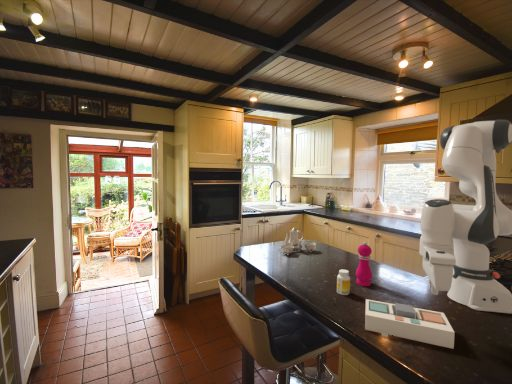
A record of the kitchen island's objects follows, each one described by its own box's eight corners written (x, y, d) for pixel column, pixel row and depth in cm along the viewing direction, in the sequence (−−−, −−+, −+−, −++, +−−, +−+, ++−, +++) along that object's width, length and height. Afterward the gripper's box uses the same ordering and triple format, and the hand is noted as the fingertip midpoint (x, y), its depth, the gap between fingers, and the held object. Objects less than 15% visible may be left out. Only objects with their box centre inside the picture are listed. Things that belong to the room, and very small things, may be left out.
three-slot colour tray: (442, 327, 88) (443, 312, 87) (453, 348, 77) (454, 331, 76) (365, 312, 97) (365, 298, 97) (365, 329, 86) (365, 314, 86)
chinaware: (285, 260, 161) (288, 234, 159) (271, 250, 176) (273, 227, 173) (319, 254, 175) (322, 230, 173) (303, 245, 190) (305, 223, 187)
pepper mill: (373, 287, 119) (375, 244, 118) (356, 286, 120) (358, 243, 119) (369, 281, 126) (371, 240, 125) (354, 279, 127) (355, 239, 126)
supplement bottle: (334, 292, 113) (335, 270, 113) (340, 288, 117) (340, 267, 117) (346, 296, 110) (347, 274, 109) (351, 292, 114) (352, 270, 113)
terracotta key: (440, 323, 86) (440, 315, 86) (444, 332, 81) (444, 323, 81) (421, 320, 88) (421, 311, 88) (424, 328, 83) (425, 319, 83)
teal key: (385, 313, 92) (386, 305, 92) (386, 321, 87) (387, 312, 87) (369, 310, 94) (370, 302, 94) (369, 317, 89) (370, 309, 89)
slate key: (412, 314, 89) (412, 305, 89) (414, 322, 84) (415, 313, 84) (394, 311, 91) (395, 302, 91) (396, 318, 86) (396, 309, 86)
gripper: (418, 241, 94) (416, 279, 95) (431, 259, 75) (429, 305, 76) (439, 243, 92) (437, 282, 93) (457, 261, 73) (455, 309, 74)
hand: (433, 292), depth 84 cm, fingers closed
